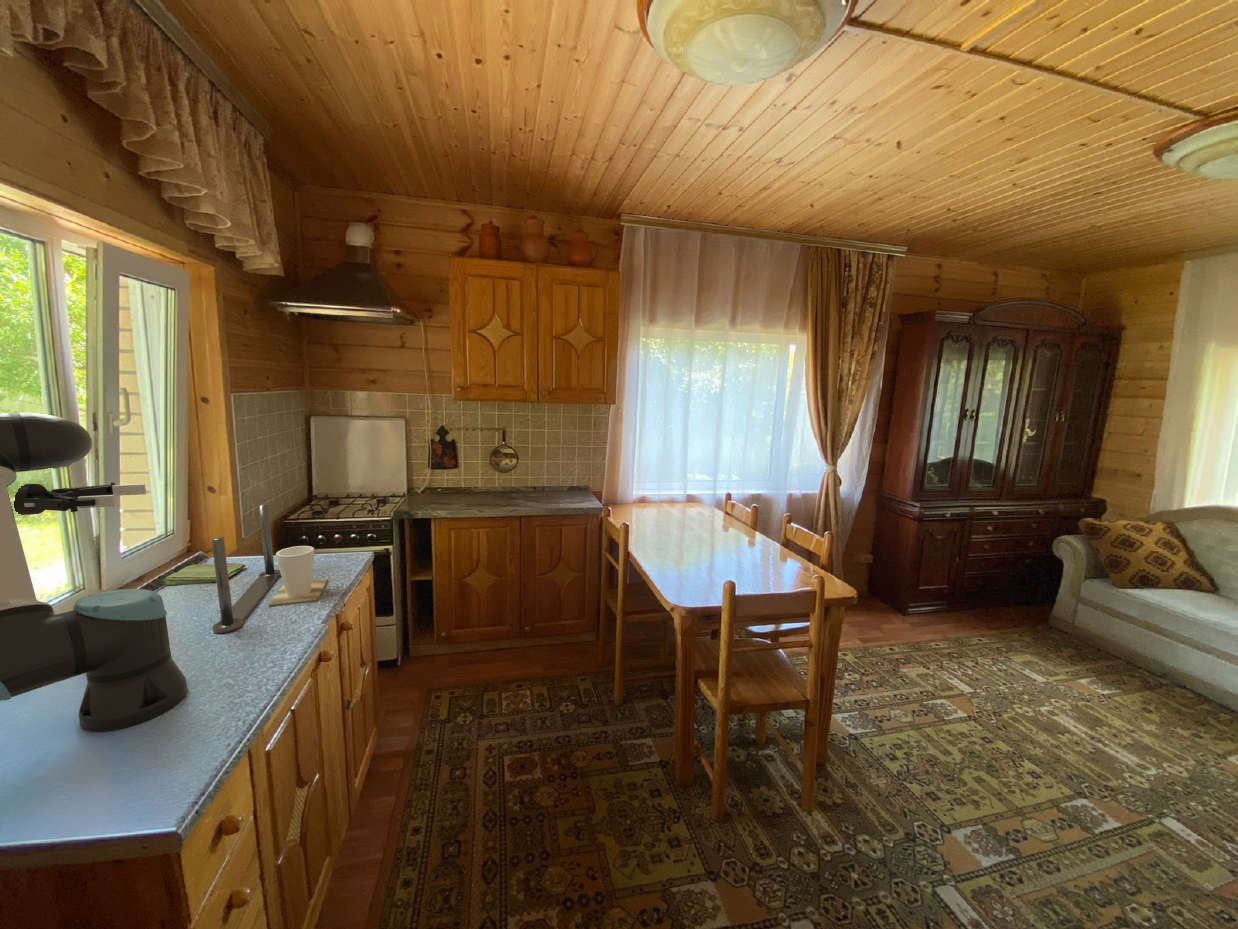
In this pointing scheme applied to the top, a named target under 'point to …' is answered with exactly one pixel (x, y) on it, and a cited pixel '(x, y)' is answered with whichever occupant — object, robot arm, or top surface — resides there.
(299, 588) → the foam cup
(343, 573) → the top surface
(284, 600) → the birch pad
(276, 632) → the top surface
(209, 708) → the top surface
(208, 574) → the washcloth
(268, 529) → the rod gate
